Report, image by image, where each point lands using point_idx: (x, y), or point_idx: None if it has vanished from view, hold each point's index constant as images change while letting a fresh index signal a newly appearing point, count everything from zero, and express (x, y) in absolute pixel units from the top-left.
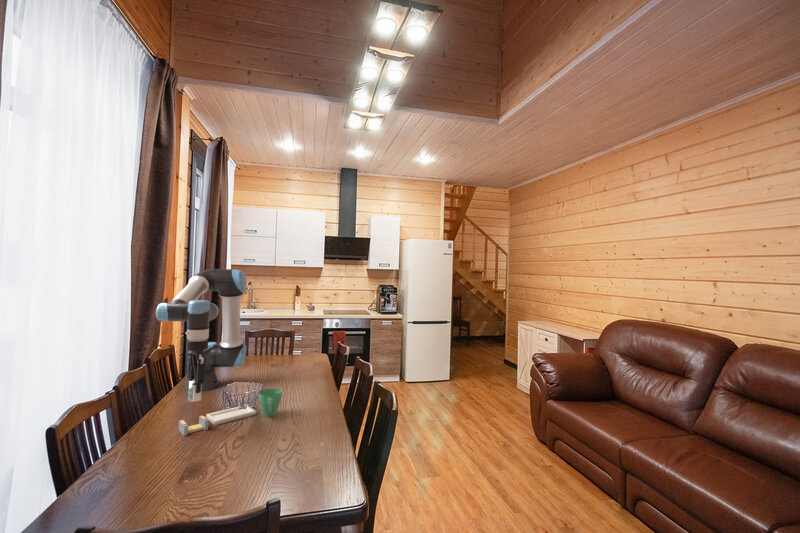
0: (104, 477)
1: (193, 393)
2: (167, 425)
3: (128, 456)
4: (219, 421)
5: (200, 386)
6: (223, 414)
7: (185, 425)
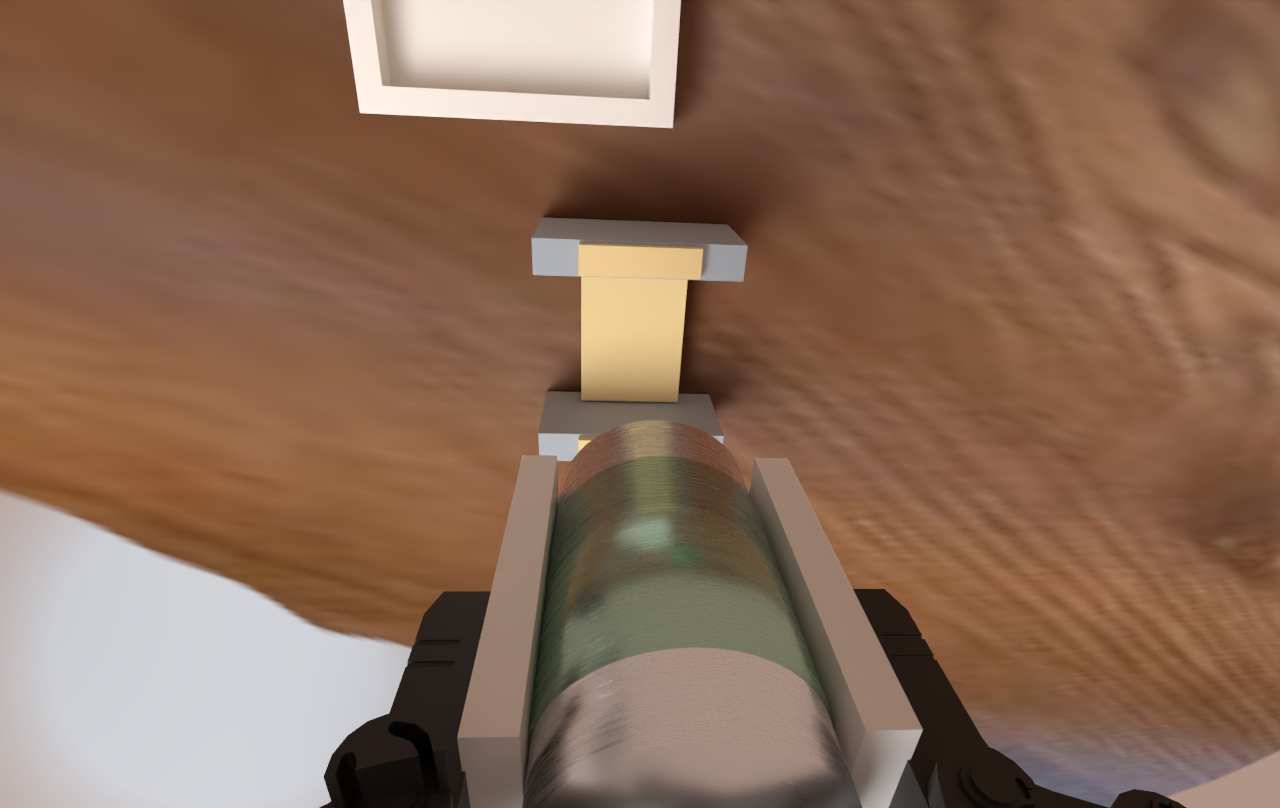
0: None
1: None
2: (376, 452)
3: None
4: (676, 65)
5: (960, 715)
6: None
7: None
